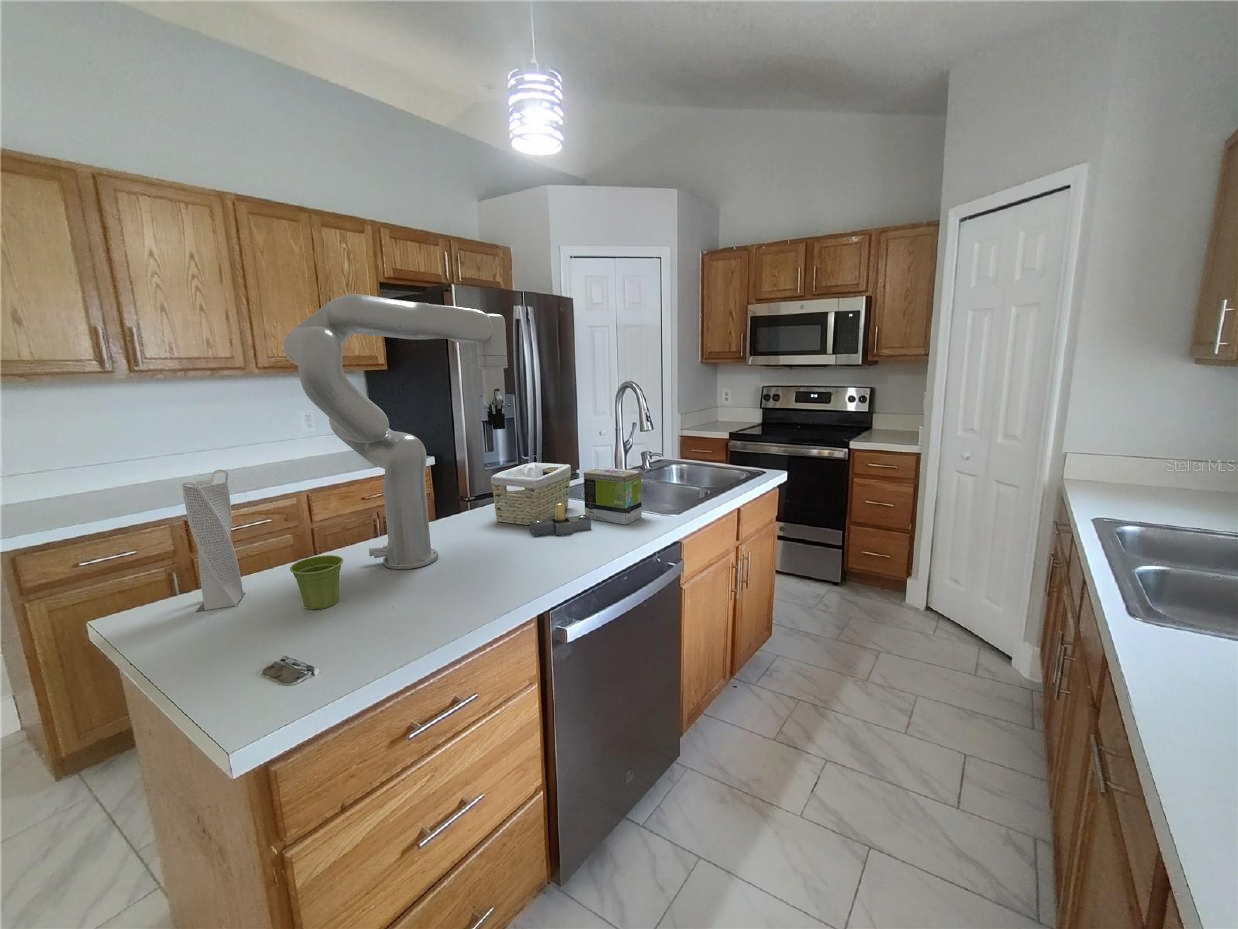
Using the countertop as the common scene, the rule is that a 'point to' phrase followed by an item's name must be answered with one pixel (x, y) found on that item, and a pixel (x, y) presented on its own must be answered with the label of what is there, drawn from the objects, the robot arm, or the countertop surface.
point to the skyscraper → (213, 542)
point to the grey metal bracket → (560, 526)
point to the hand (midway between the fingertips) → (496, 426)
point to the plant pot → (318, 580)
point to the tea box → (613, 495)
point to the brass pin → (560, 512)
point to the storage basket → (530, 492)
